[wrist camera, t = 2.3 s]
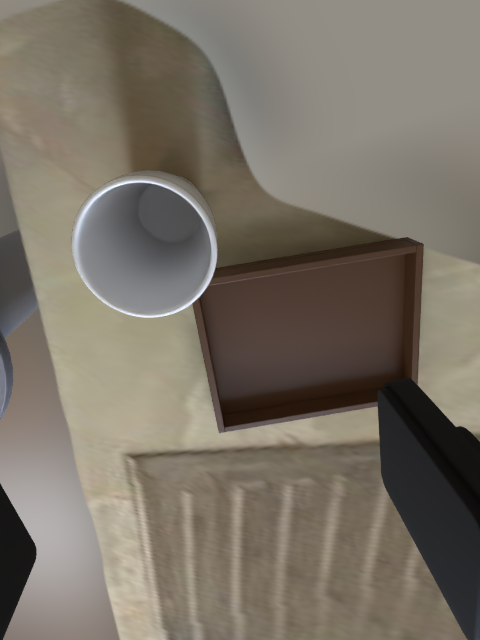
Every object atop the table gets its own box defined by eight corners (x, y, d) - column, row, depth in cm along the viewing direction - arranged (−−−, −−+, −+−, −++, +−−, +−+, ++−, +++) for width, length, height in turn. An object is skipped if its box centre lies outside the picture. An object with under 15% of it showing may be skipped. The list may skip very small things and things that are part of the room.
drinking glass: (133, 155, 30) (71, 157, 16) (220, 174, 31) (232, 191, 17) (124, 242, 33) (64, 308, 19) (205, 257, 34) (205, 330, 20)
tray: (218, 415, 40) (219, 433, 37) (189, 272, 34) (187, 282, 31) (403, 384, 40) (417, 399, 38) (407, 236, 34) (424, 243, 32)
